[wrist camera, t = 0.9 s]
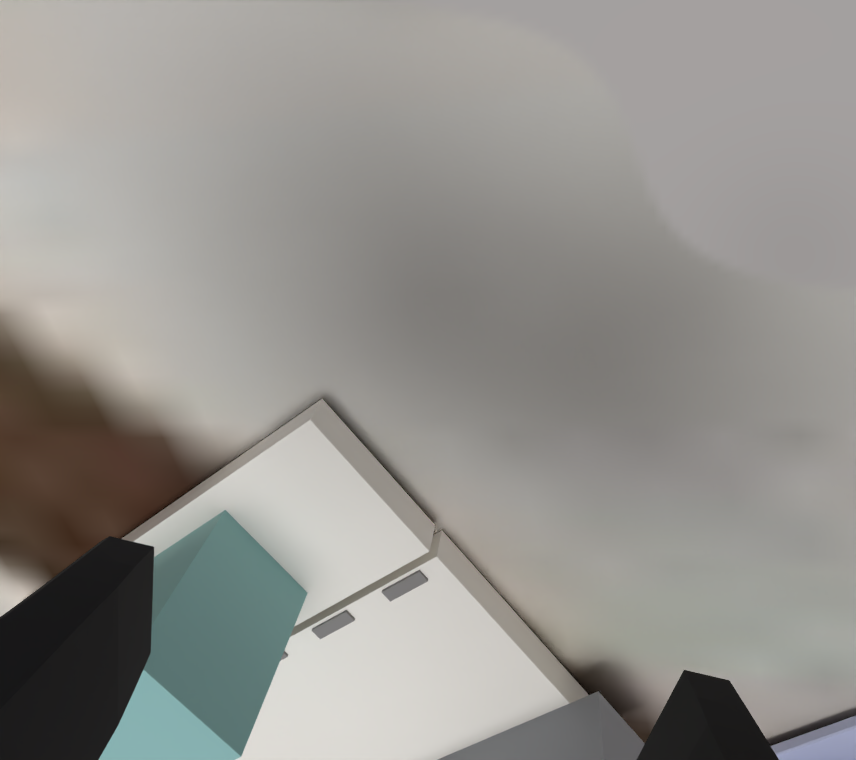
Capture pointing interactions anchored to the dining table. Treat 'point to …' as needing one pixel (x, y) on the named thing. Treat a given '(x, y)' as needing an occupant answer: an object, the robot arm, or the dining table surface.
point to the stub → (257, 580)
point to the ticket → (430, 679)
